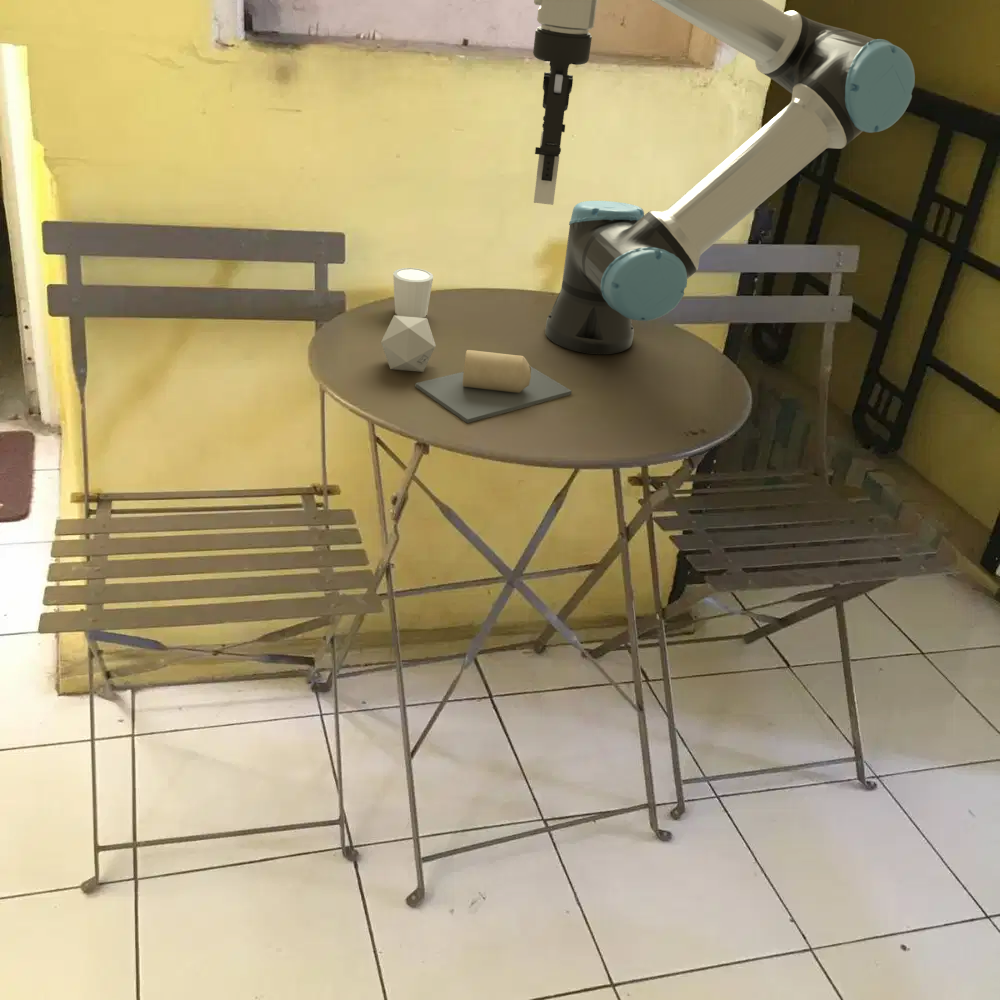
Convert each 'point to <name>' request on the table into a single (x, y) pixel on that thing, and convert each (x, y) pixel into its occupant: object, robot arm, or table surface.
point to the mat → (489, 395)
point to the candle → (496, 371)
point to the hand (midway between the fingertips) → (544, 190)
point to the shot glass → (412, 292)
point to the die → (408, 343)
